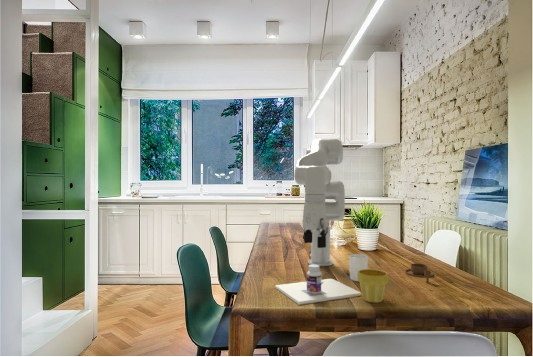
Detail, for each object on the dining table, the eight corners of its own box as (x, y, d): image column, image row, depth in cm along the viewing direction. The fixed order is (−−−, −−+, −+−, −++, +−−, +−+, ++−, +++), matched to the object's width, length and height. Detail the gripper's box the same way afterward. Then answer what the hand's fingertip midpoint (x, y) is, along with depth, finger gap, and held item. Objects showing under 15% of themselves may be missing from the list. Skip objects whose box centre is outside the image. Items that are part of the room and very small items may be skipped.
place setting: (443, 276, 159) (443, 263, 159) (431, 287, 144) (431, 272, 143) (404, 270, 170) (404, 257, 170) (388, 279, 155) (388, 265, 155)
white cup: (354, 282, 147) (354, 258, 147) (345, 277, 154) (345, 254, 154) (371, 281, 149) (371, 257, 149) (361, 276, 156) (361, 253, 156)
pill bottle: (303, 291, 131) (303, 265, 131) (312, 288, 135) (312, 263, 135) (315, 295, 127) (315, 268, 127) (324, 292, 131) (324, 265, 131)
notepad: (275, 287, 139) (275, 285, 139) (331, 280, 149) (331, 278, 149) (298, 304, 121) (298, 301, 121) (361, 295, 130) (361, 292, 130)
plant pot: (364, 293, 133) (364, 267, 133) (392, 299, 127) (392, 271, 127) (352, 300, 125) (352, 272, 125) (381, 307, 119) (381, 277, 119)
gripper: (295, 197, 138) (295, 241, 138) (318, 200, 122) (317, 250, 122) (312, 197, 141) (312, 240, 141) (336, 200, 125) (336, 248, 125)
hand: (314, 245), depth 131 cm, fingers open, 9 cm apart
